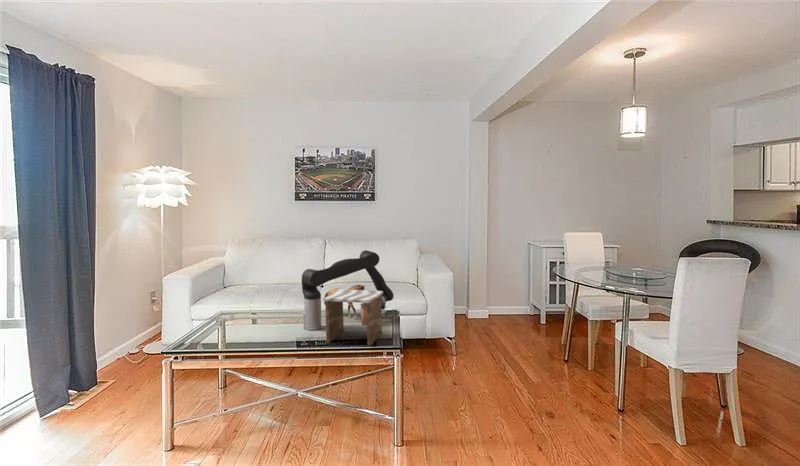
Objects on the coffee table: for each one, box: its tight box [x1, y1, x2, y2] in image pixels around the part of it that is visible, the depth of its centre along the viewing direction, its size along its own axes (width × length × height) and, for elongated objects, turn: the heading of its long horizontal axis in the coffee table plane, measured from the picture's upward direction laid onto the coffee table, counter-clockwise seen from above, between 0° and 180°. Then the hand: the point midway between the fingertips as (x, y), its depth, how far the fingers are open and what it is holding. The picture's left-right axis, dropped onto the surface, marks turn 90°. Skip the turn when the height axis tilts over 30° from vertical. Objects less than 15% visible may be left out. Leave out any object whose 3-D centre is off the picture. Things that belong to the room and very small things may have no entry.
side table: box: [322, 288, 383, 347], centre depth 249 cm, size 25×22×23 cm
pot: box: [360, 303, 367, 326], centre depth 275 cm, size 7×7×15 cm
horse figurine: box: [323, 284, 366, 321], centre depth 291 cm, size 31×8×21 cm, turn 61°
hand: (369, 309), depth 279 cm, fingers open, 8 cm apart
